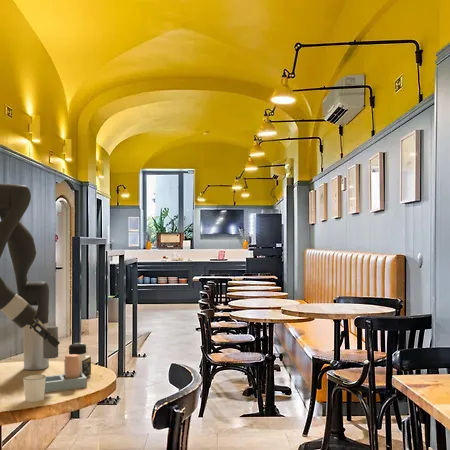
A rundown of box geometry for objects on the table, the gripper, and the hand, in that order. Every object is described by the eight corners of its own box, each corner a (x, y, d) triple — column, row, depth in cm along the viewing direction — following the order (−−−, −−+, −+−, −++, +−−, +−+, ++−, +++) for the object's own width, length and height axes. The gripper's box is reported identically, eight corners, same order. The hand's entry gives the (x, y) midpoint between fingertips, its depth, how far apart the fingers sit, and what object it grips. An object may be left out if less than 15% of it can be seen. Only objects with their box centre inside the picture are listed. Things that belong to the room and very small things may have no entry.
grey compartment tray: (37, 385, 197) (37, 356, 197) (82, 380, 203) (81, 352, 203) (40, 392, 189) (40, 362, 189) (87, 386, 195) (86, 357, 195)
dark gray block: (42, 356, 196) (42, 326, 196) (57, 354, 198) (56, 325, 198) (44, 359, 192) (44, 329, 192) (59, 357, 194) (58, 327, 194)
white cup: (50, 396, 184) (50, 374, 184) (37, 403, 178) (37, 380, 178) (32, 395, 187) (32, 373, 186) (18, 401, 180) (18, 379, 180)
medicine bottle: (82, 380, 204) (82, 346, 204) (64, 379, 206) (63, 345, 206) (91, 374, 211) (90, 342, 211) (73, 374, 212) (72, 341, 213)
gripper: (29, 304, 185) (68, 338, 190) (25, 299, 198) (61, 331, 203) (11, 322, 183) (51, 356, 188) (8, 316, 196) (46, 348, 201)
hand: (56, 343), depth 196 cm, fingers closed on dark gray block, 4 cm apart
